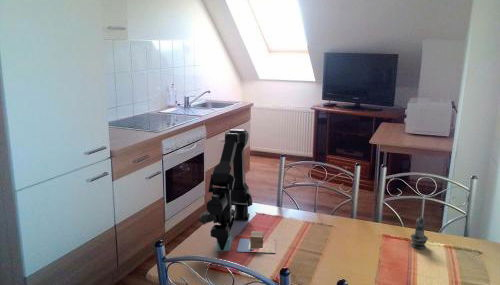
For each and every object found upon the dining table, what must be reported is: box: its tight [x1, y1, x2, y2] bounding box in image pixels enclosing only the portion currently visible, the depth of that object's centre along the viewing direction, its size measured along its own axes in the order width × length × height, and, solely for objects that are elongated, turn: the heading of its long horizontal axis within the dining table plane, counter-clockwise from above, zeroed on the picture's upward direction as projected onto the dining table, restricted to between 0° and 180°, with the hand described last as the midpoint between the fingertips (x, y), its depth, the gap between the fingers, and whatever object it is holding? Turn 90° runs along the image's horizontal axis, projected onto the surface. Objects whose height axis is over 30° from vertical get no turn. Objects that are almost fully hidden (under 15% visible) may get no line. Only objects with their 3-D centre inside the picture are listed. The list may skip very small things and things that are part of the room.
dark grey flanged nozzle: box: [410, 215, 429, 251], centre depth 151 cm, size 6×6×12 cm
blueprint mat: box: [236, 238, 259, 253], centre depth 154 cm, size 10×14×1 cm
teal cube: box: [216, 233, 232, 252], centre depth 152 cm, size 4×4×4 cm
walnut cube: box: [249, 230, 264, 248], centre depth 153 cm, size 4×4×4 cm
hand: (224, 243), depth 153 cm, fingers open, 9 cm apart
